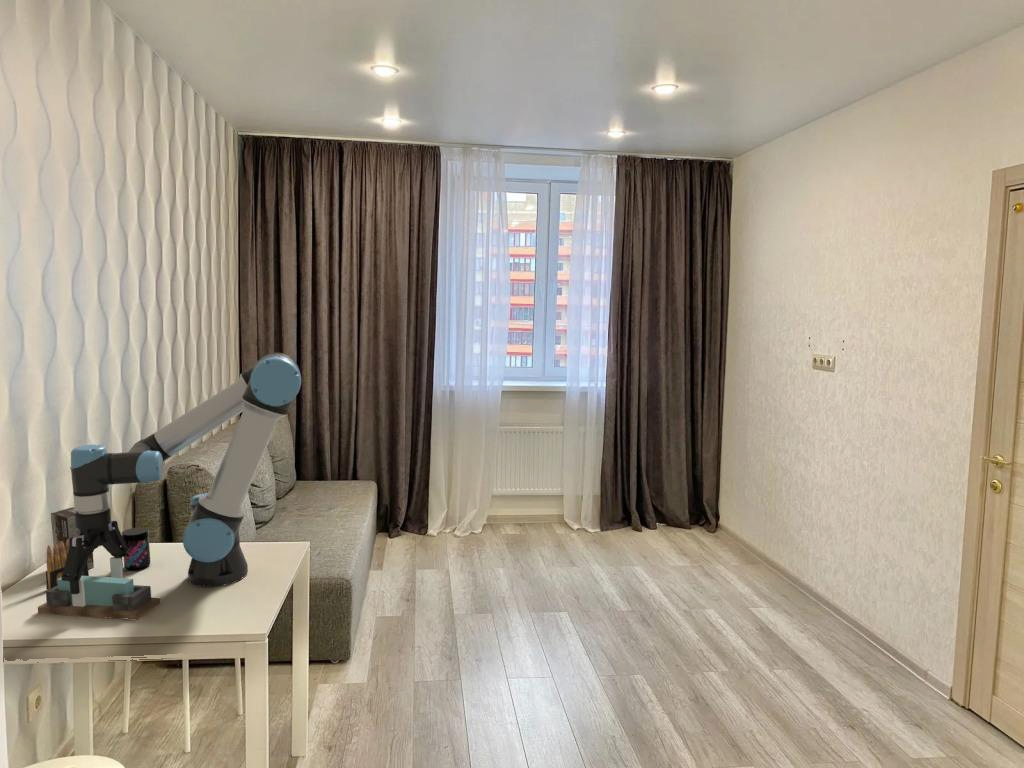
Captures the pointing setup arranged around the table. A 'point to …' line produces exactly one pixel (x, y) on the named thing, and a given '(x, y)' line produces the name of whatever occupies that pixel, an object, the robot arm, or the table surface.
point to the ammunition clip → (57, 564)
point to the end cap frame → (122, 606)
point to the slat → (100, 589)
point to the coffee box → (66, 529)
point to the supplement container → (137, 548)
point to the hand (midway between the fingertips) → (99, 593)
